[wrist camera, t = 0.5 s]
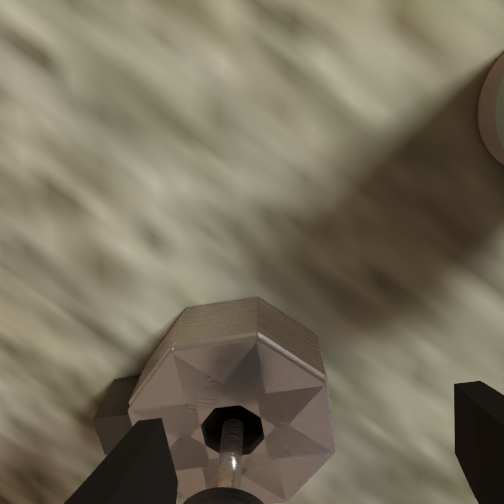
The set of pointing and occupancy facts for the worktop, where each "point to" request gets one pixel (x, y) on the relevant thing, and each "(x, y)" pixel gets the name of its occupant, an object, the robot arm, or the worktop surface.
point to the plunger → (227, 471)
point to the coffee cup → (493, 111)
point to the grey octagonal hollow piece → (231, 397)
